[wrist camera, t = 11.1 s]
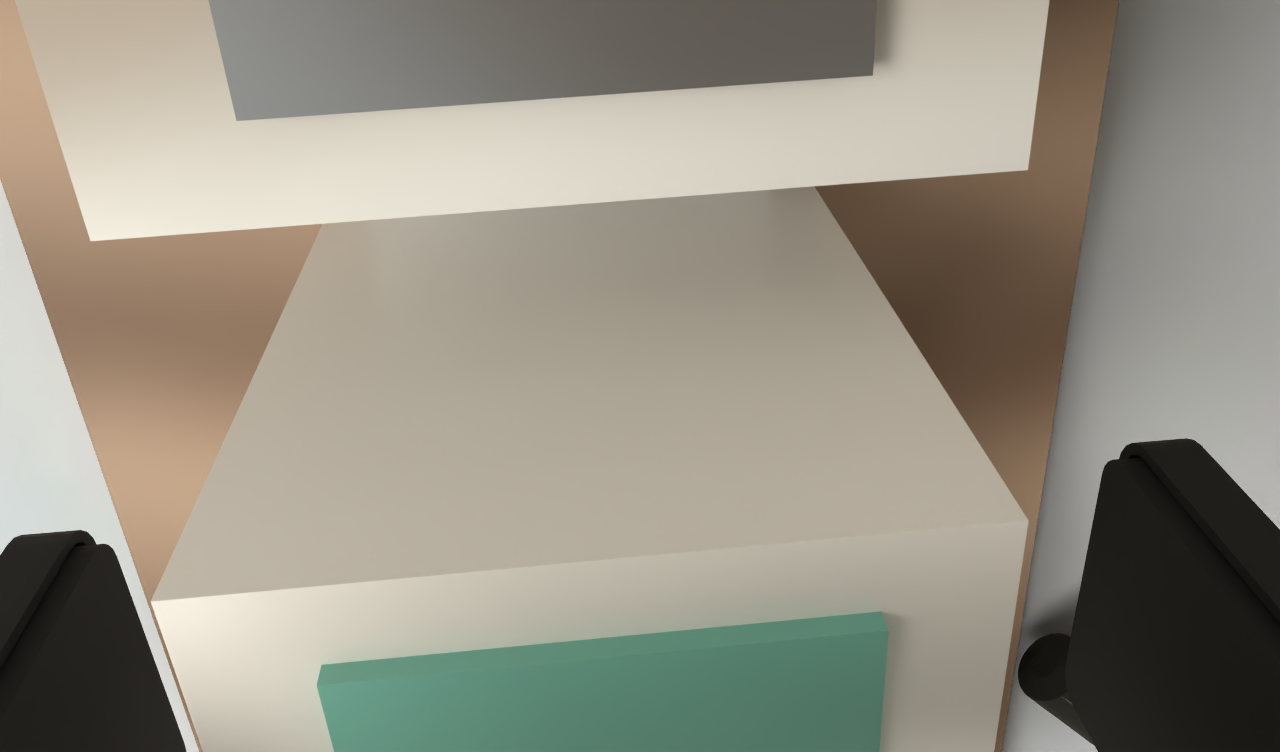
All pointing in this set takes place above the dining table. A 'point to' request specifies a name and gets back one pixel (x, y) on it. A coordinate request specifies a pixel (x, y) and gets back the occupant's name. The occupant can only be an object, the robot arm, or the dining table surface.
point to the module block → (595, 499)
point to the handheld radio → (1050, 679)
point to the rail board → (241, 281)
